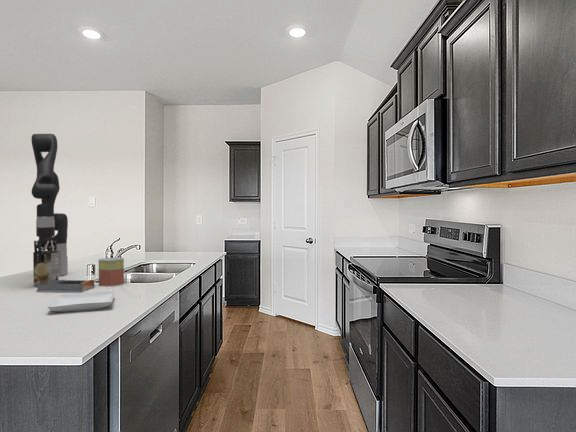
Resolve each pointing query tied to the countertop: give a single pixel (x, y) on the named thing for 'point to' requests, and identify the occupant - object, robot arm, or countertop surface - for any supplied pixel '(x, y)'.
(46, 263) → the coffee box
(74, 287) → the gray orange tray
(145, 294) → the countertop surface
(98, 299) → the salad plate
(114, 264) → the canned food
